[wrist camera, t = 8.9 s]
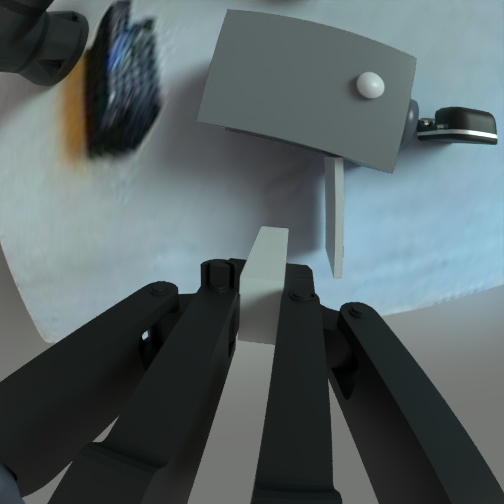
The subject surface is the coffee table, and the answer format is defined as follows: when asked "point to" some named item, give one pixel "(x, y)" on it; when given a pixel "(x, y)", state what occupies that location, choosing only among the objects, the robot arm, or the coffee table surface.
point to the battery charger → (459, 126)
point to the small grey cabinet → (311, 88)
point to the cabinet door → (334, 212)
